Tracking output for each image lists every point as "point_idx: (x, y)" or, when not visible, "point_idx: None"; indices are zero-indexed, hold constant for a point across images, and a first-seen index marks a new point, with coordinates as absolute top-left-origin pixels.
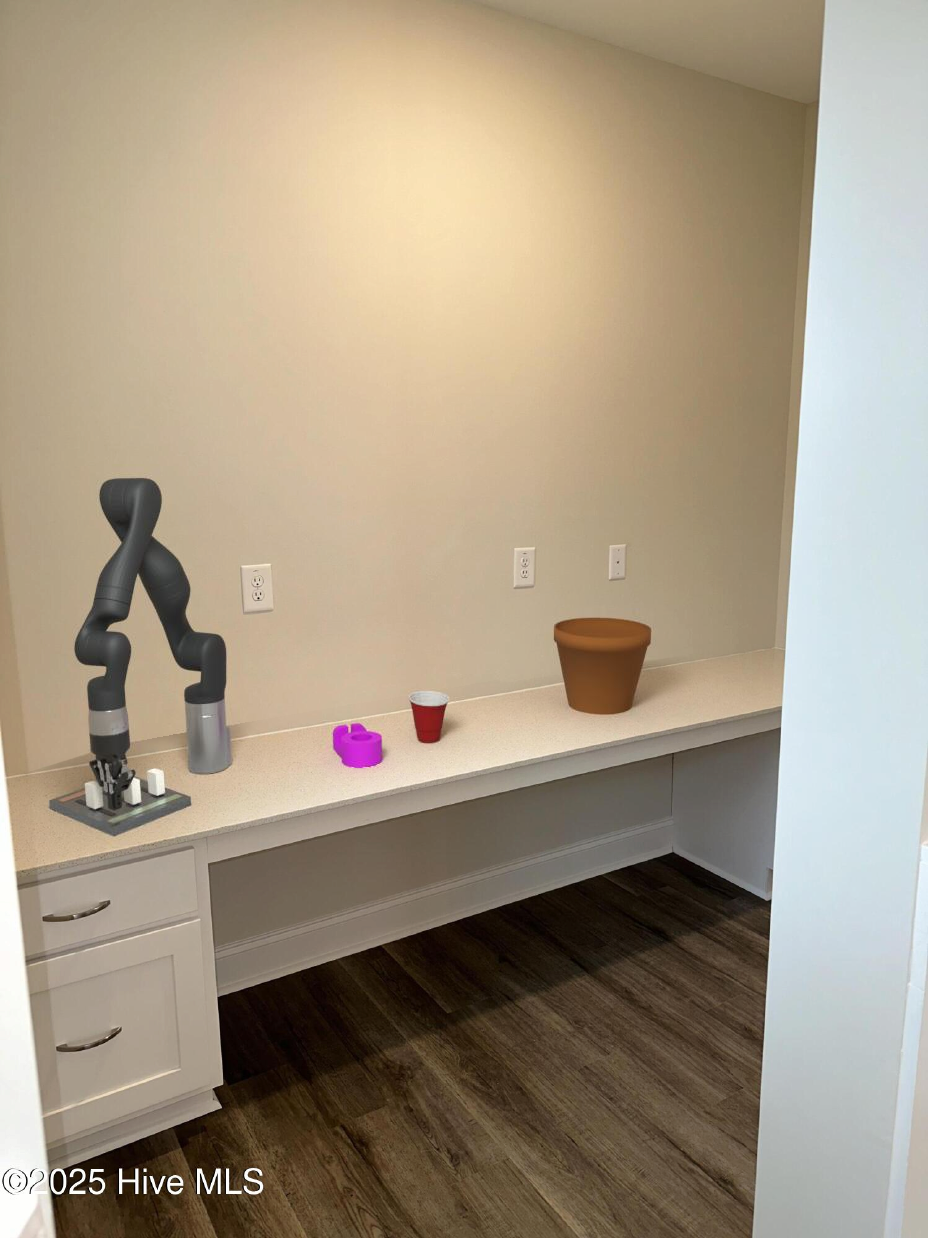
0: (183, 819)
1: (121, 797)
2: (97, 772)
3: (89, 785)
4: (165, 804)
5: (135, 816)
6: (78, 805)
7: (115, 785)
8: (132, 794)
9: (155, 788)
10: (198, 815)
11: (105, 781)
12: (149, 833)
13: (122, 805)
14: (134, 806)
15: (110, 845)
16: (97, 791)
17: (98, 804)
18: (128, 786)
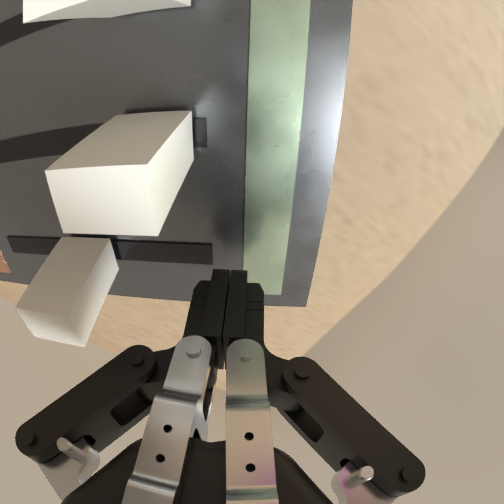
0: (431, 62)
1: (263, 320)
2: (114, 440)
3: (62, 342)
4: (324, 45)
5: (307, 219)
6: None
7: (209, 369)
8: (179, 185)
9: (166, 3)
10: (453, 9)
11: (206, 431)
12: (395, 214)
13: None
14: (198, 151)
15: (339, 311)
16: (87, 309)
17: (109, 265)
18: (334, 384)
